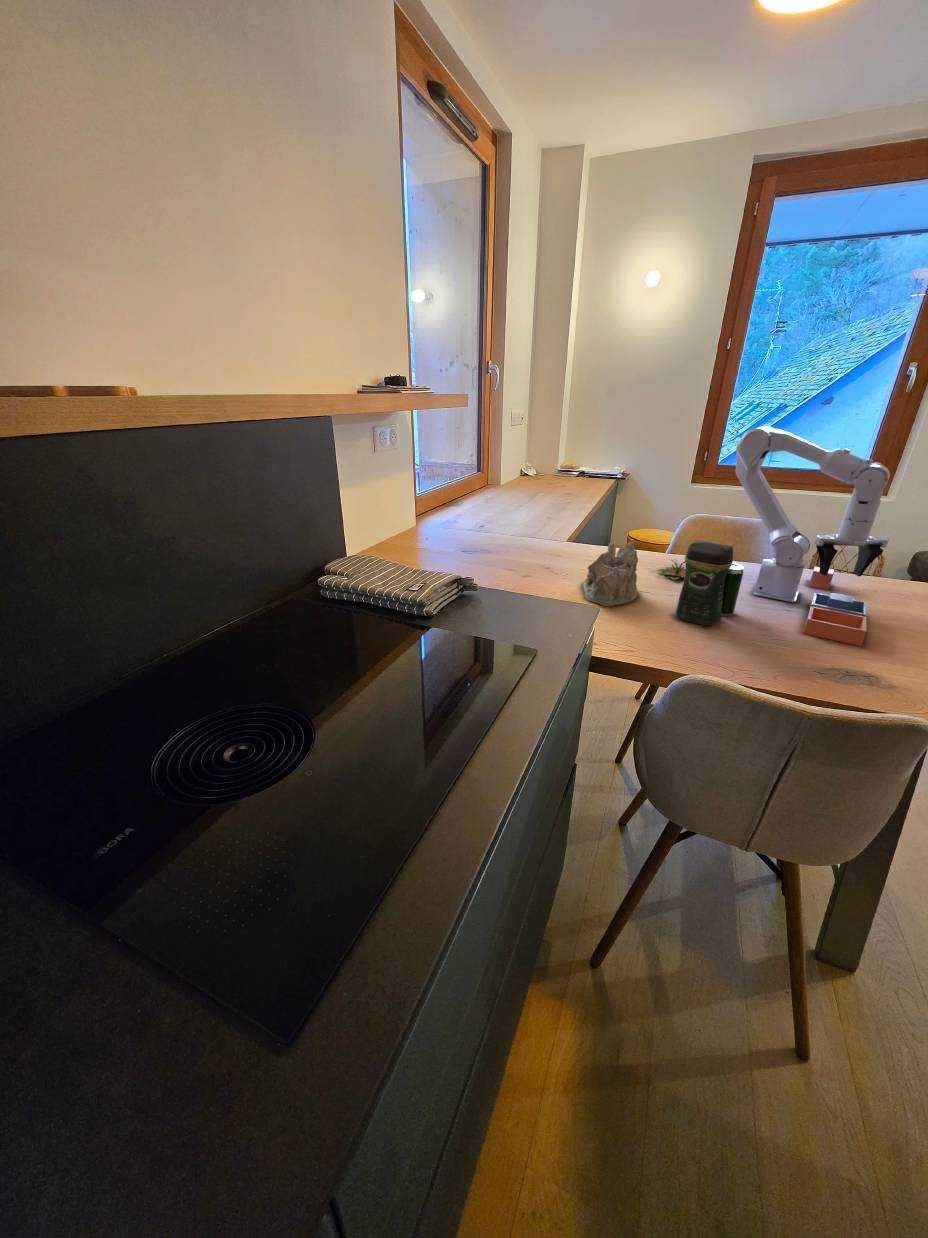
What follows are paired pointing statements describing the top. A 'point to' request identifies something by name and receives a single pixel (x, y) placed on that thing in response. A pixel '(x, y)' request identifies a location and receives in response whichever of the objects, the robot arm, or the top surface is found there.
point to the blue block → (840, 601)
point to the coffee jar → (704, 582)
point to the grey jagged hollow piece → (613, 576)
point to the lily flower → (674, 571)
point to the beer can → (731, 589)
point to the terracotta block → (821, 579)
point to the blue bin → (822, 600)
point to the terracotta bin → (836, 625)
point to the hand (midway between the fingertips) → (839, 574)
